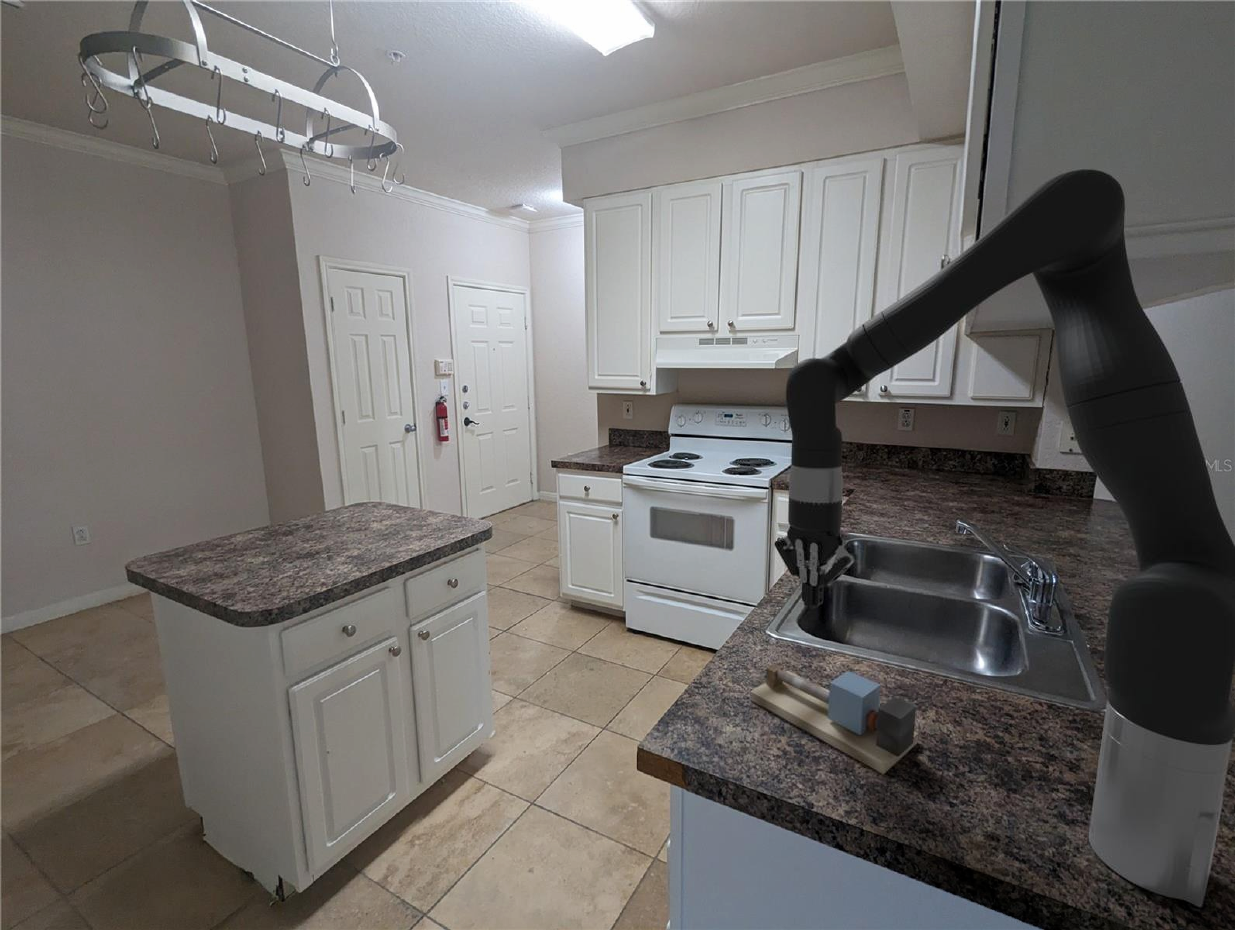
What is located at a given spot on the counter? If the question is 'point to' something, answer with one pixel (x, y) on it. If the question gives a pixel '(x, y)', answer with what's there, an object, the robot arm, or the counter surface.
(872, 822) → the counter surface
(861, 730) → the blue sleeve
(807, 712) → the rail board
